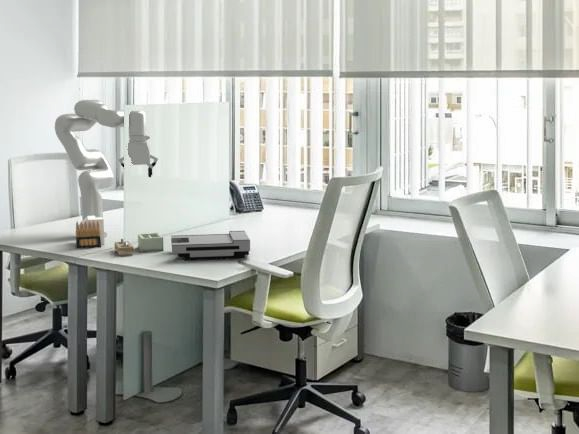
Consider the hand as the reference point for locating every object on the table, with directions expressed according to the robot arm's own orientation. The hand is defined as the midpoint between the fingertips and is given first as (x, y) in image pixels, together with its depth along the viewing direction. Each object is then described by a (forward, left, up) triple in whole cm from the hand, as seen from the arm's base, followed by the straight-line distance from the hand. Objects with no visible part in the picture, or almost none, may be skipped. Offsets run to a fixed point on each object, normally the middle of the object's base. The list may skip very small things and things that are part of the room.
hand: (138, 177), depth 335 cm
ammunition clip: (-1, -23, -31) cm, 38 cm away
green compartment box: (+12, +2, -30) cm, 33 cm away
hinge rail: (+15, -10, -30) cm, 35 cm away
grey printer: (+32, +23, -31) cm, 50 cm away
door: (+15, -10, -30) cm, 35 cm away
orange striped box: (-9, -21, -31) cm, 38 cm away
